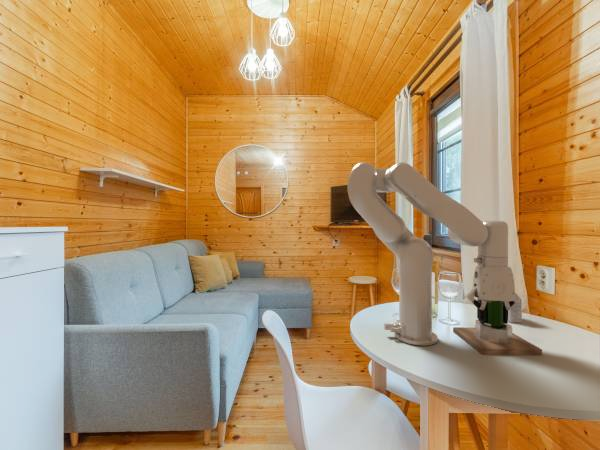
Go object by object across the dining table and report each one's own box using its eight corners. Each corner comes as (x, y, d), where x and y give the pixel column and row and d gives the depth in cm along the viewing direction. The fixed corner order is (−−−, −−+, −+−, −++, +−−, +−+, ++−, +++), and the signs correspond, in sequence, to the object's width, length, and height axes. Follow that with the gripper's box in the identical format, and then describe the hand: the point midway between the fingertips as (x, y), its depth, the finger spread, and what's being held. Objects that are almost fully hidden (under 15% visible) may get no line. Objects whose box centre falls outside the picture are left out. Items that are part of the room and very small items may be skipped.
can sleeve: (486, 343, 82) (486, 329, 82) (469, 331, 91) (469, 319, 91) (519, 343, 81) (519, 330, 81) (499, 331, 90) (499, 319, 90)
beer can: (498, 337, 82) (498, 296, 82) (478, 332, 87) (478, 292, 87) (506, 333, 85) (506, 293, 85) (486, 328, 90) (486, 290, 90)
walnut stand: (481, 354, 78) (481, 348, 78) (453, 331, 94) (453, 327, 94) (542, 355, 78) (542, 349, 77) (503, 332, 93) (503, 327, 93)
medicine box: (522, 322, 102) (522, 298, 102) (510, 323, 102) (510, 299, 102) (505, 315, 110) (505, 293, 110) (494, 315, 110) (494, 293, 110)
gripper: (470, 263, 82) (470, 326, 83) (531, 263, 82) (531, 327, 82) (457, 260, 90) (457, 317, 90) (513, 260, 89) (513, 318, 89)
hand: (492, 321), depth 86 cm, fingers closed on beer can, 5 cm apart
